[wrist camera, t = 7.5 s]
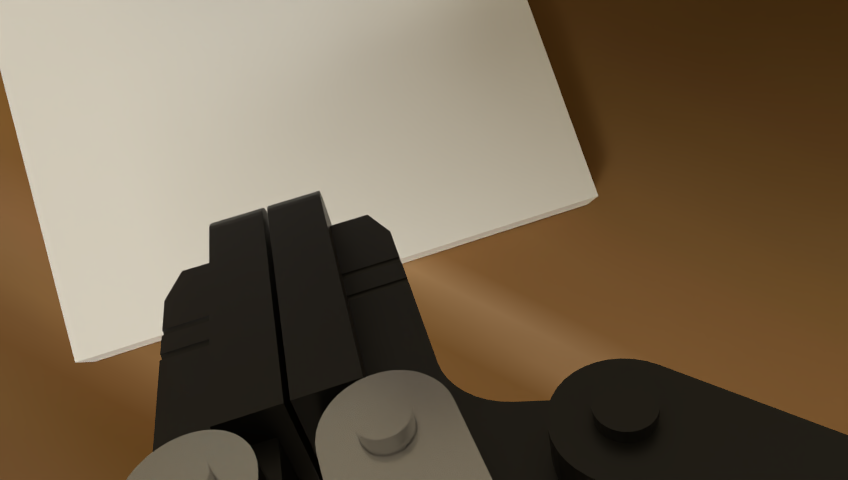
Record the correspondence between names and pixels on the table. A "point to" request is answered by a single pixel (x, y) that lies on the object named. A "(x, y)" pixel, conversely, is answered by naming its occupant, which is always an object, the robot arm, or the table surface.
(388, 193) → the base board
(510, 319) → the table surface
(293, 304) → the robot arm
